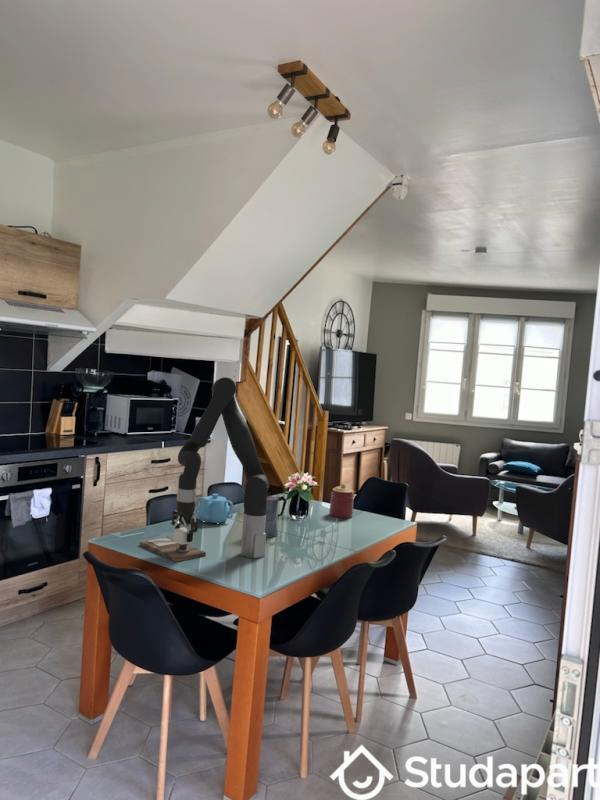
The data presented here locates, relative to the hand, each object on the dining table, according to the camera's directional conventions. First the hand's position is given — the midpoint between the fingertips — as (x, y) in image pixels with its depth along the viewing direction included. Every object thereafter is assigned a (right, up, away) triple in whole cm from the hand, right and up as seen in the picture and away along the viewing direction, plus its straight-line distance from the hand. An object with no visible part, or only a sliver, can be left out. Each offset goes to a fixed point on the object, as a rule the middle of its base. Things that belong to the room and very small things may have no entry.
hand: (183, 539), depth 243 cm
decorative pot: (+4, -4, +56) cm, 56 cm away
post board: (-5, -6, +5) cm, 9 cm away
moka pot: (+32, -7, +40) cm, 51 cm away
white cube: (0, -1, 0) cm, 1 cm away
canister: (+69, -8, +90) cm, 114 cm away
